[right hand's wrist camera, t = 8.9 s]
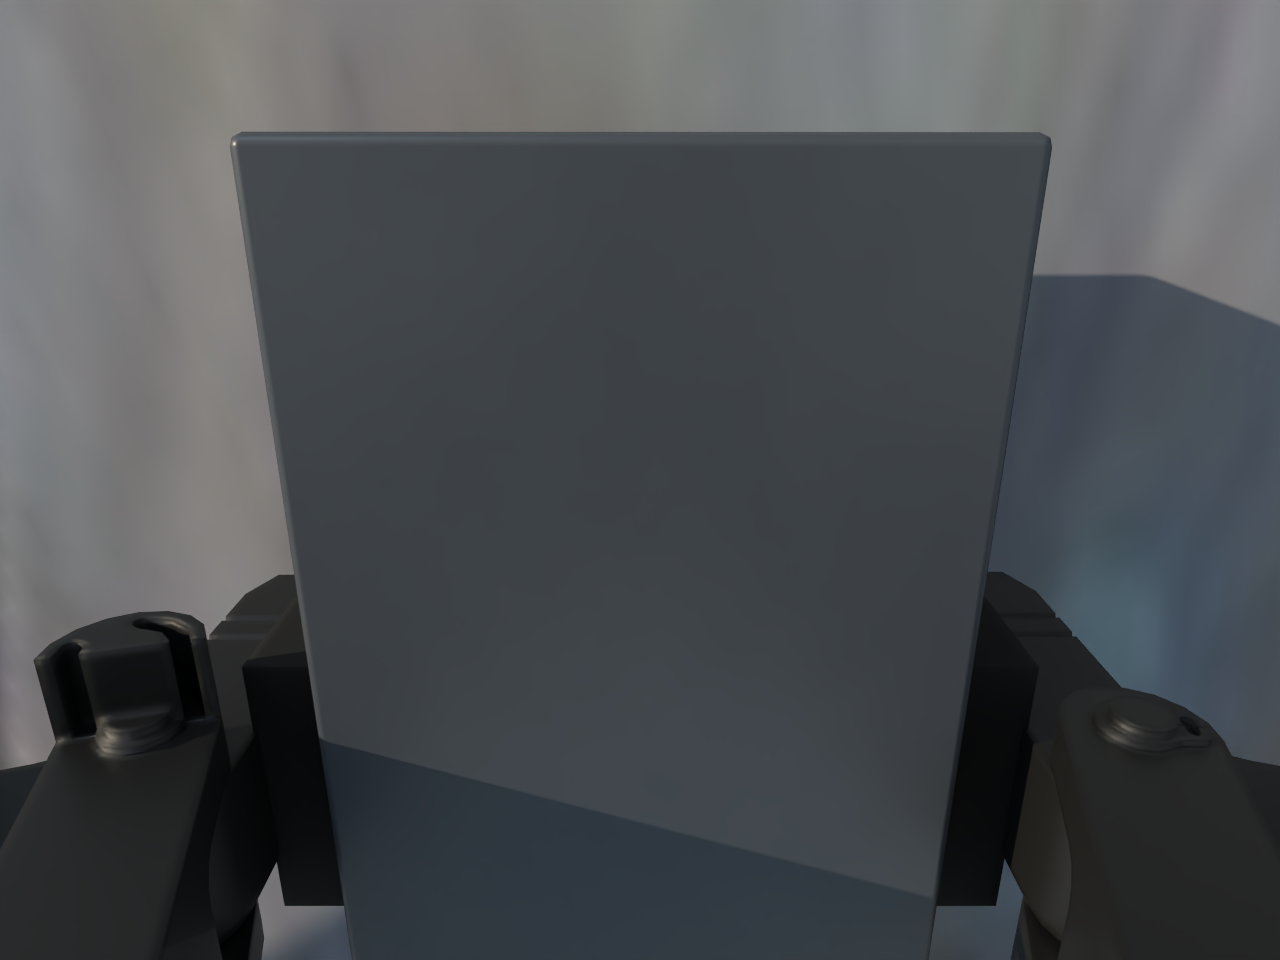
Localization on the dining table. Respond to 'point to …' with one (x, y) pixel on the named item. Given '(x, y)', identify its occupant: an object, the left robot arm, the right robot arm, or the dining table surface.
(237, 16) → the dining table surface
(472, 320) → the beam
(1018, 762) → the right robot arm
